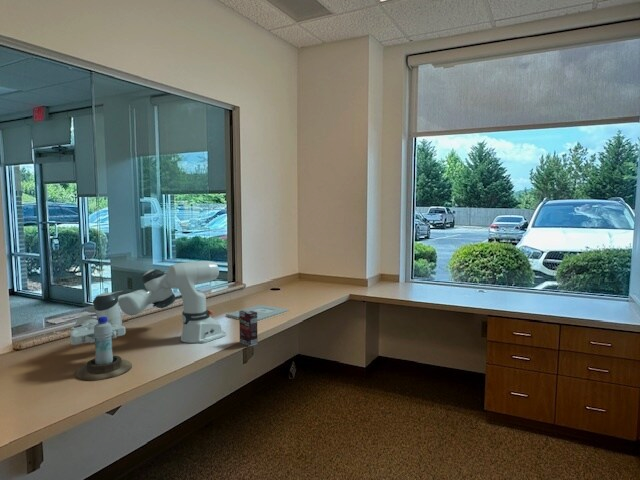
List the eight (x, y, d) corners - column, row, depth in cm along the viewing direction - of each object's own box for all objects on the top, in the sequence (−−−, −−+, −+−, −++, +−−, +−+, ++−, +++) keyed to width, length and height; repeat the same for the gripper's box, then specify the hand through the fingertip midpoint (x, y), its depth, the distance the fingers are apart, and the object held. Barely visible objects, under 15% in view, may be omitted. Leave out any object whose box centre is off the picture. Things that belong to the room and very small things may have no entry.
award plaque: (226, 317, 251) (225, 314, 251) (260, 307, 276) (260, 304, 276) (255, 323, 237) (255, 320, 237) (288, 313, 262) (288, 309, 261)
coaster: (122, 357, 182) (121, 349, 181) (139, 370, 167) (138, 361, 167) (70, 370, 168) (69, 360, 168) (83, 385, 154) (83, 374, 153)
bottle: (116, 362, 171) (114, 314, 170) (109, 368, 164) (106, 318, 163) (100, 362, 171) (98, 314, 169) (91, 368, 164) (89, 318, 163)
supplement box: (239, 342, 202) (238, 310, 201) (247, 340, 206) (246, 309, 204) (250, 346, 196) (249, 313, 195) (258, 344, 200) (257, 312, 198)
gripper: (120, 333, 183) (131, 340, 173) (67, 343, 169) (75, 352, 159) (119, 319, 183) (130, 325, 173) (66, 328, 169) (75, 336, 159)
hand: (103, 338), depth 166 cm, fingers closed on bottle, 6 cm apart
